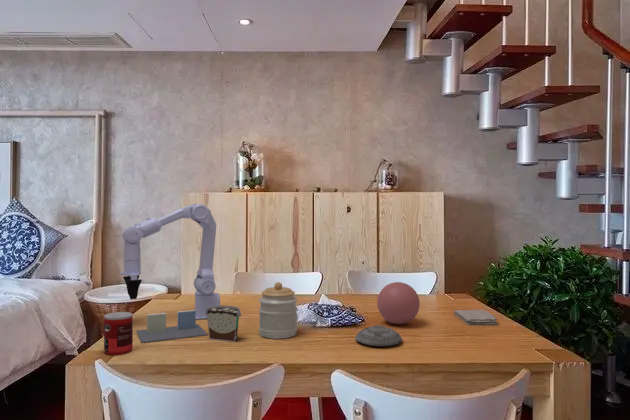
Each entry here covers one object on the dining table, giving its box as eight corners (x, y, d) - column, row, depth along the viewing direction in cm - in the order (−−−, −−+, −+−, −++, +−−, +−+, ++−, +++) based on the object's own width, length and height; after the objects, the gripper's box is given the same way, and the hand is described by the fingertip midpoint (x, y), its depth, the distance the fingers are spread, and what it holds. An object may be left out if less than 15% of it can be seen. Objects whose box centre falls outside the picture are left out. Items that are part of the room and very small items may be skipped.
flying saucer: (391, 352, 142) (391, 334, 141) (346, 344, 150) (347, 327, 149) (409, 340, 154) (409, 323, 154) (367, 333, 162) (367, 317, 162)
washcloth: (468, 327, 172) (468, 318, 172) (452, 315, 190) (452, 307, 190) (500, 327, 173) (500, 318, 173) (481, 315, 191) (481, 307, 191)
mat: (197, 324, 172) (197, 323, 172) (207, 335, 158) (207, 334, 158) (136, 331, 162) (136, 330, 162) (141, 343, 149) (141, 342, 149)
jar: (267, 341, 151) (267, 286, 151) (253, 331, 163) (253, 280, 163) (303, 336, 157) (303, 283, 157) (287, 327, 169) (287, 278, 169)
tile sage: (165, 330, 163) (165, 312, 163) (166, 331, 162) (166, 313, 162) (147, 332, 160) (147, 314, 160) (147, 333, 159) (147, 315, 159)
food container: (247, 337, 156) (247, 307, 156) (238, 342, 151) (238, 311, 150) (215, 333, 160) (215, 304, 160) (205, 338, 155) (205, 308, 154)
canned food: (109, 347, 144) (109, 311, 144) (136, 347, 145) (135, 311, 145) (99, 355, 137) (99, 318, 137) (128, 355, 137) (128, 317, 137)
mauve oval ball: (408, 315, 188) (408, 276, 187) (425, 328, 168) (425, 285, 168) (370, 316, 186) (370, 277, 186) (383, 329, 166) (383, 286, 166)
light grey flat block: (194, 326, 167) (194, 310, 167) (195, 327, 166) (195, 310, 166) (177, 328, 165) (177, 311, 165) (178, 329, 163) (178, 312, 163)
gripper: (119, 258, 176) (119, 294, 176) (121, 262, 163) (121, 301, 163) (139, 257, 179) (139, 292, 180) (143, 261, 166) (143, 300, 166)
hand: (132, 297), depth 172 cm, fingers open, 7 cm apart
